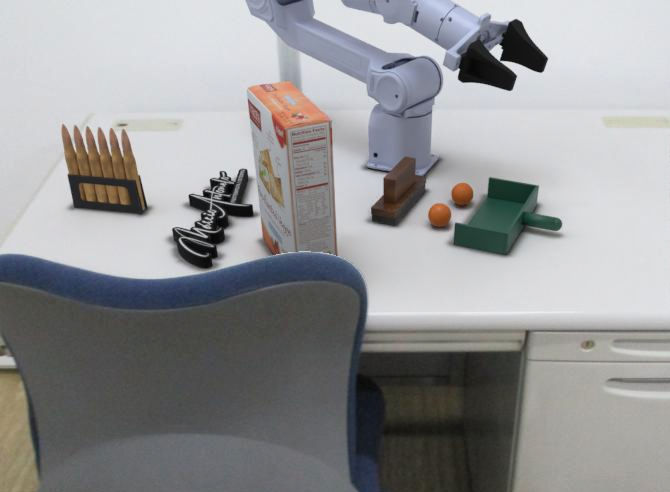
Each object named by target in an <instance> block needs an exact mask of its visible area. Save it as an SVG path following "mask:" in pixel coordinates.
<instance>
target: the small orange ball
mask: <svg viewBox="0 0 670 492" xmlns="http://www.w3.org/2000/svg"><path fill="white" fill-rule="evenodd" d="M427 213H428V214H427V218H428V221H429V222H430V223H431V225H433V226H434V227H439V228H441V227H444V226H446V225H447V224H449V223H450V222H451V218H452V211H451V209H450V207H449V206H448V205H447V204H445V203H442V202H438V203H435V204H433V205H432V206H430V208H429V210H428V212H427Z"/></svg>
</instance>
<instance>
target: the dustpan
mask: <svg viewBox="0 0 670 492" xmlns="http://www.w3.org/2000/svg"><path fill="white" fill-rule="evenodd" d="M539 190H540V185H539V184H532V183H527V182H521V181H515V180H511V179H510V180H509V179H503V178H497V177H492V176H489V177H488V185H487V195H486V198H485V200H484V201H483V202H482V204H480V206H479V208H478V209H477V210H476V211H475V213H474V214H473V216H472V217H471V219H470V220H469V221H468V223H467V224H466V223H461V222H454V229H453V245H456V246H461V247H465V248H470V249H476V250H479V251H484V252H489V253H495V254H500V255H507V253H508V252H509V251H510V249H511V247H512V245H513V244H514V242H515V241H516V239H517V237H518V236H519V234H520V232H521V231H522V229H523V228H524V226H526V227H530V228H536V229H540V230H541V229H542V230H546V231H552V232H558V231H560V230H561V229H562V228H563V221H562V219H560V218H559V217H557V216H550V215H544V214H539V213H534V212H533V211H534V209H535V208H536V207H537V205H538V197H539Z"/></svg>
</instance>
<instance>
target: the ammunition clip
mask: <svg viewBox="0 0 670 492" xmlns="http://www.w3.org/2000/svg"><path fill="white" fill-rule="evenodd" d="M60 129H61V131H60V132H61V139H62V144H63V150H64V160H65V164H66V167H67V171H68V173H67V180H68V184H69V189H70V194H71V199H72V204H73V207H74V209H84V210H93V211H106V212H114V213H115V212H116V213H124V214H125V213H127V214H133V215H134V214H135V215H143V214H144V213H145V212H146V211H147V209H149V207H148V203H147V199H146V195H145V191H144V186H143V182H142V178H141V175H140V174H139V171H138V166H137V161H136V157H135V156H134V152H133V149H132V145H131V140H130V137H129V135H128V133H127V131H126V130H125V129H124V128H122V129H121V134H120V135H121V136H120V137H121V138H120V142H119V139H118V137H117V134H116V132H115V131H114V129H113V128H112V127H110V129H109V133H108V140H109V146H110V149H109V146H108V142H107V138H106V135H105V133H104V130H103V129H102V128H101V127H100V126H98V127H97V132H96V133H97V134H96V135H97V143H96V139H95V136H94V134H93V131H92V130H91V128H90V126H88V125H87V126H85V142H86V145H85V142H84V139H83V136H82V133H81V131H80V129H79V127H78V126H77V125H76V124H74V125H73V131H72V133H73V140H72V136H71V134H70V132H69V130H68V128H67V126H66V125H65V124H64V123H62V124H61V128H60ZM73 141H74V144H73ZM120 143H121V147H120ZM97 144H98V146H97ZM74 147H75V148H74ZM86 148H87V149H86ZM121 148H122V151H121ZM98 150H99V151H98Z"/></svg>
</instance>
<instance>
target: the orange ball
mask: <svg viewBox="0 0 670 492" xmlns="http://www.w3.org/2000/svg"><path fill="white" fill-rule="evenodd" d="M450 193H451V194H450V196H451V200H452V202H453V203H455V204H456V205H458V206H466V205H469V204H470V203H471V202H472V200H473V198H474V190H473V188H472V186H471V185H470V184H468V183H467V182H459V183H457V184H455V185H454V186H453V188H452V189H451V192H450Z"/></svg>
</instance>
